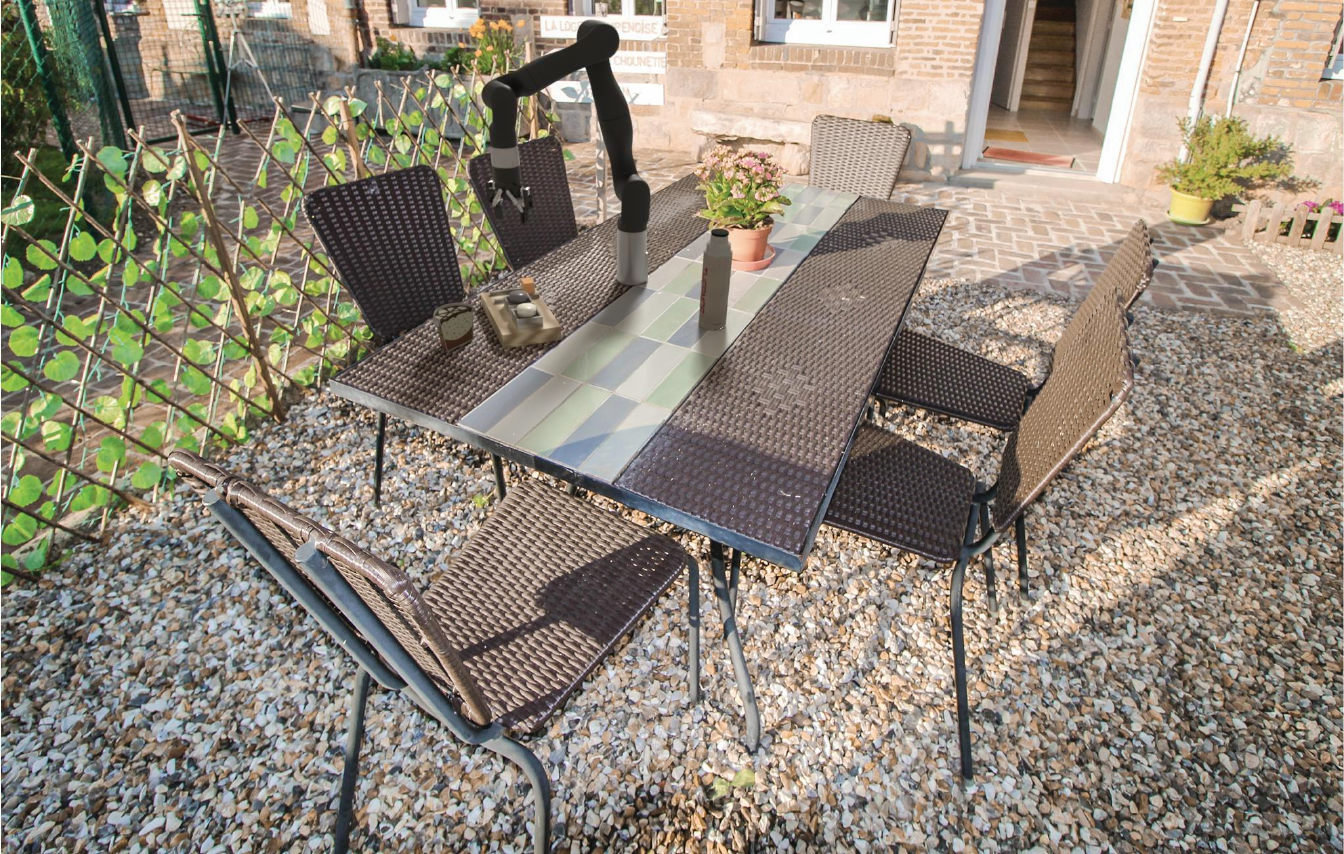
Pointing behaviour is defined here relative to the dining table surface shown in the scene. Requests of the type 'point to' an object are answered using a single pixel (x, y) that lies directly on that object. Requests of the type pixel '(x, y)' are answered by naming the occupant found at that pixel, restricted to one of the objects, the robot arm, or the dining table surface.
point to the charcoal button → (518, 296)
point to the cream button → (526, 310)
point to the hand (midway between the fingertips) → (511, 221)
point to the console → (519, 319)
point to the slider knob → (528, 285)
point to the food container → (454, 324)
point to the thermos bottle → (715, 280)
